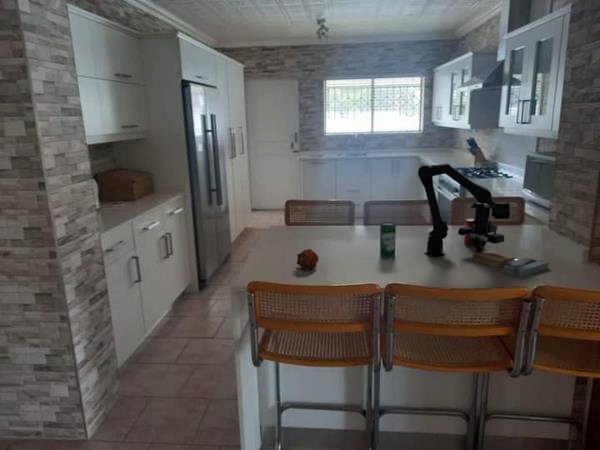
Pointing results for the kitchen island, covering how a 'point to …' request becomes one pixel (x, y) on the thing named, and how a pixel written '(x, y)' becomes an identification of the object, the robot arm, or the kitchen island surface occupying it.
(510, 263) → the roller
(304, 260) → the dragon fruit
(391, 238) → the can
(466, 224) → the soda can
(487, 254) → the slab
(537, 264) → the stop cradle
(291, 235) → the kitchen island surface
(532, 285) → the kitchen island surface
